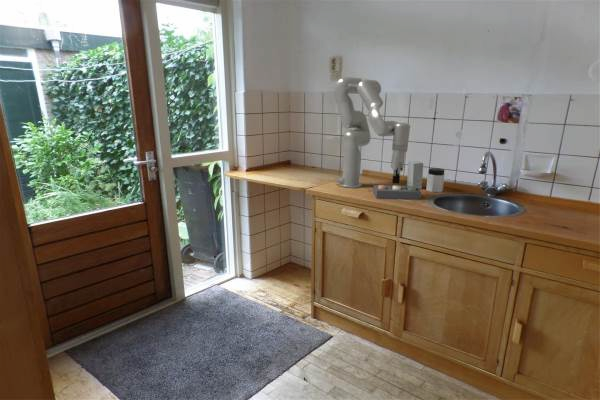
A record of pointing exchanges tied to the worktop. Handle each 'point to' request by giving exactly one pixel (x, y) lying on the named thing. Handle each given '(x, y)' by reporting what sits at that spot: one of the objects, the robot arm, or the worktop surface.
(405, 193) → the button panel
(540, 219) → the worktop surface
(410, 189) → the sage button
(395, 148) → the robot arm
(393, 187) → the cream button
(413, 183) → the skincare box
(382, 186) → the terracotta button
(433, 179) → the jar
